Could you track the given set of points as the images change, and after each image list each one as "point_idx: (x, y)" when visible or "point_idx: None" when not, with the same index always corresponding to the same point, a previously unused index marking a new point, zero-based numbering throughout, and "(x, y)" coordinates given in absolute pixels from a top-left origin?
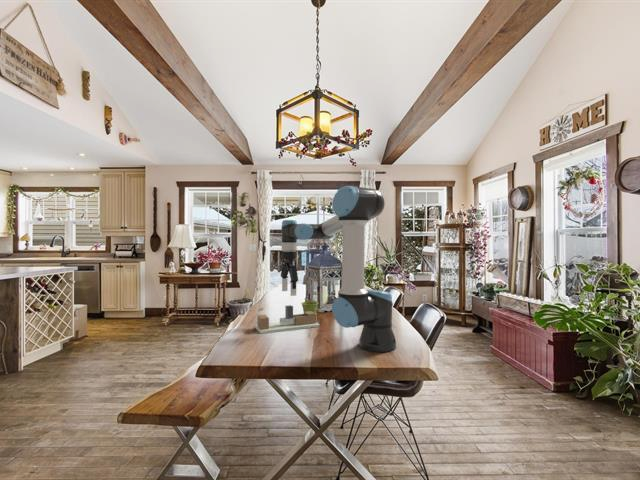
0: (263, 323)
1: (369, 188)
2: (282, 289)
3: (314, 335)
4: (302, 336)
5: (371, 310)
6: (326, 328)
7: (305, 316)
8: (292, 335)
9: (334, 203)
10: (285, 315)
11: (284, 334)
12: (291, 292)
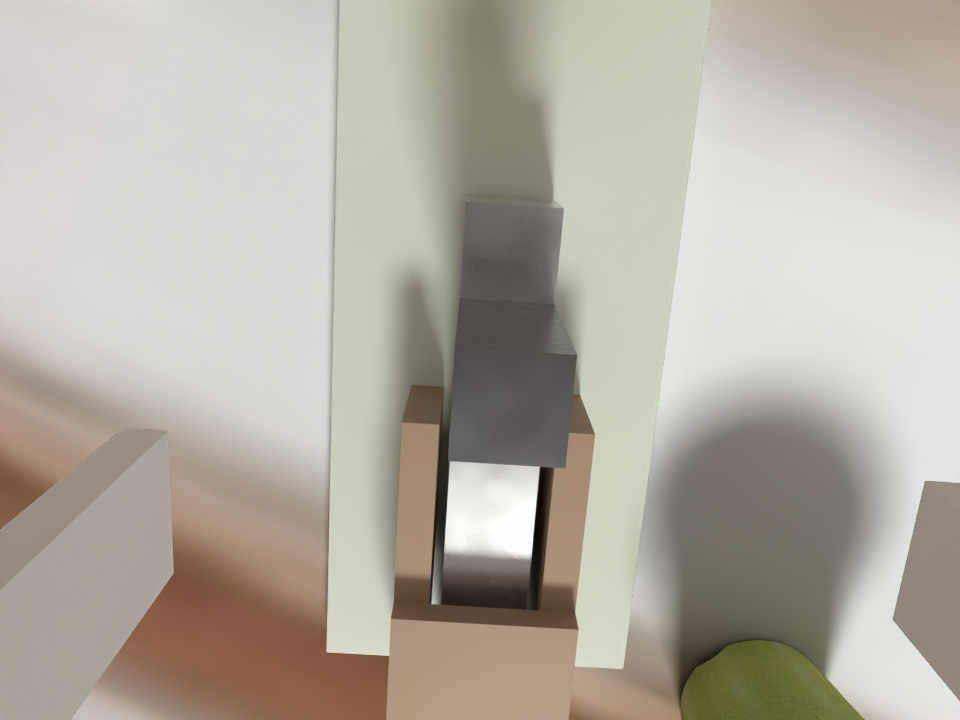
0: None
1: None
2: (957, 506)
3: (14, 436)
4: (22, 295)
5: None
6: (239, 670)
7: (399, 565)
8: (106, 201)
9: None
10: (553, 311)
11: (188, 124)
12: (78, 479)
